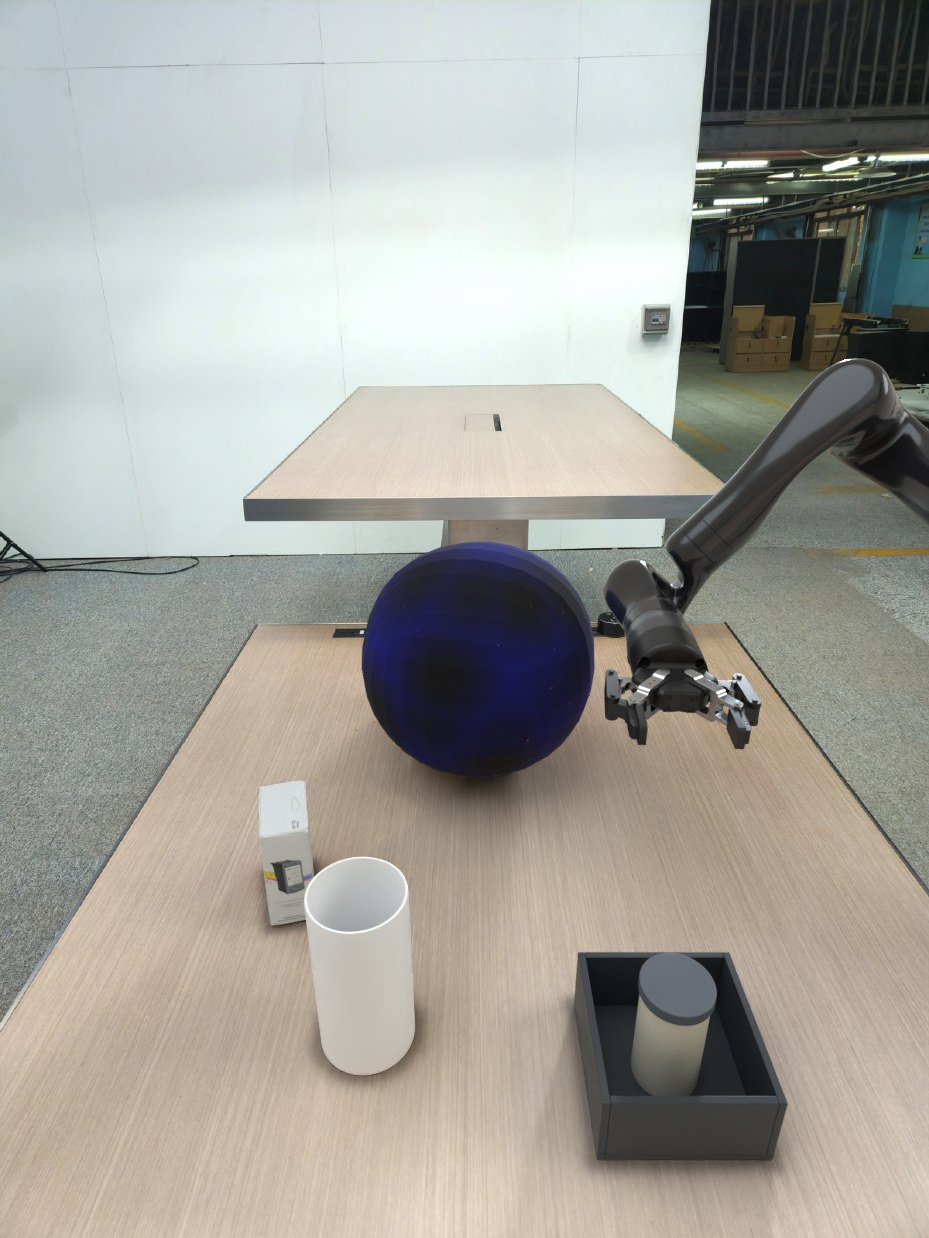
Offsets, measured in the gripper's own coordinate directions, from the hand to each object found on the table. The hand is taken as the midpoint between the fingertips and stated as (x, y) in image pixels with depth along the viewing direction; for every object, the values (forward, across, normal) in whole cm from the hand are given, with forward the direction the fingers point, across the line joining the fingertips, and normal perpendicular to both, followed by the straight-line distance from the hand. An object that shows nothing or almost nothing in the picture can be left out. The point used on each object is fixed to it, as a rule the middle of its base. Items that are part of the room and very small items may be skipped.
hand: (692, 738), depth 66 cm
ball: (-30, -23, +23) cm, 45 cm away
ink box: (-2, -39, +23) cm, 45 cm away
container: (+15, -3, +22) cm, 27 cm away
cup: (+13, -28, +23) cm, 39 cm away
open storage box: (+15, -2, +23) cm, 28 cm away
